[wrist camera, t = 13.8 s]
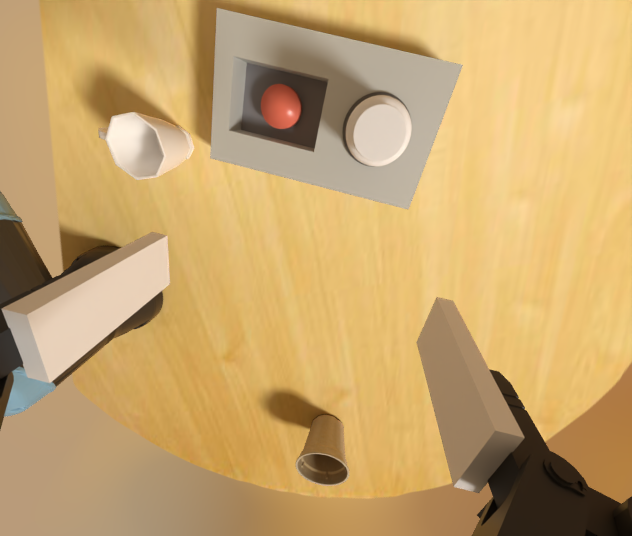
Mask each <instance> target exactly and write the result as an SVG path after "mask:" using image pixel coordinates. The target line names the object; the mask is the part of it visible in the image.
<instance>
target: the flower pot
mask: <svg viewBox="0 0 632 536" xmlns="http://www.w3.org/2000/svg"><path fill="white" fill-rule="evenodd" d="M343 429H344V427H343V424H342V422H341V421H339V420H337V419H336V418H335V417H333V416H330V415H320V416H318V417H317V418H316V419H314V420H313V422H312V426H311V429H310V432H309V435H308V438H307V441H306V444H305V446H304V449H303V451H302V452H301V454H300V456H299V457H298V459H297V461H296V469H297V471H298V472H299V474H300V475H301V476H303V477H304V478H305V479H307V480H309V481H310V482H313V483H315V484H319V485H325V486H333V485H339V484H341V483H343V482H345V481H346V480H347V479H348V477H349V468H348V466H347V461H346V459H345V446H344V430H343Z"/></svg>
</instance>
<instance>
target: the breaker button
mask: <svg viewBox="0 0 632 536" xmlns="http://www.w3.org/2000/svg"><path fill="white" fill-rule="evenodd" d="M261 111H262V115H263V117H264V119H265V120H266V122H267V123H268V124H269V125H271V126H272V127H274V128H277V129H287V128H291V127H293V126H294V125H295V124H296V123H297V122H298V121H299V119H300V117H301V114H302V102H301V99H300V97H299V95H298V93H297V92H296V91H295V90H294V89H292V88H291V87H288V86H286V85H284V84H274V85H272V86H270V87H269V88H268V89H267V90H266V91H265V92H264V94H263V96H262V99H261Z"/></svg>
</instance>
